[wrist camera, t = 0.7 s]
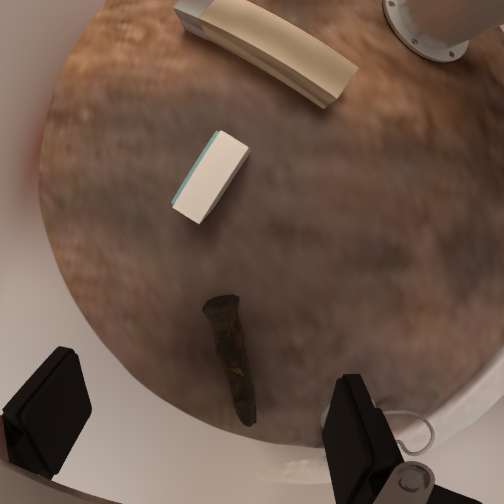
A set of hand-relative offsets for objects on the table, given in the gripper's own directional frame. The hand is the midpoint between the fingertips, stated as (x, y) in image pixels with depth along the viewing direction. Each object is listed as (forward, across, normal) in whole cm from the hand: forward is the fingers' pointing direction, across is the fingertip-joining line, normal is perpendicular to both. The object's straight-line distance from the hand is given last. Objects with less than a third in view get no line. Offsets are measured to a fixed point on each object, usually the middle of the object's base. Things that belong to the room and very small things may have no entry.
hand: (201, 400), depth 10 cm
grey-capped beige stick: (+26, -1, -21) cm, 33 cm away
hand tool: (+26, -1, +16) cm, 31 cm away
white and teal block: (+26, +2, -6) cm, 27 cm away
